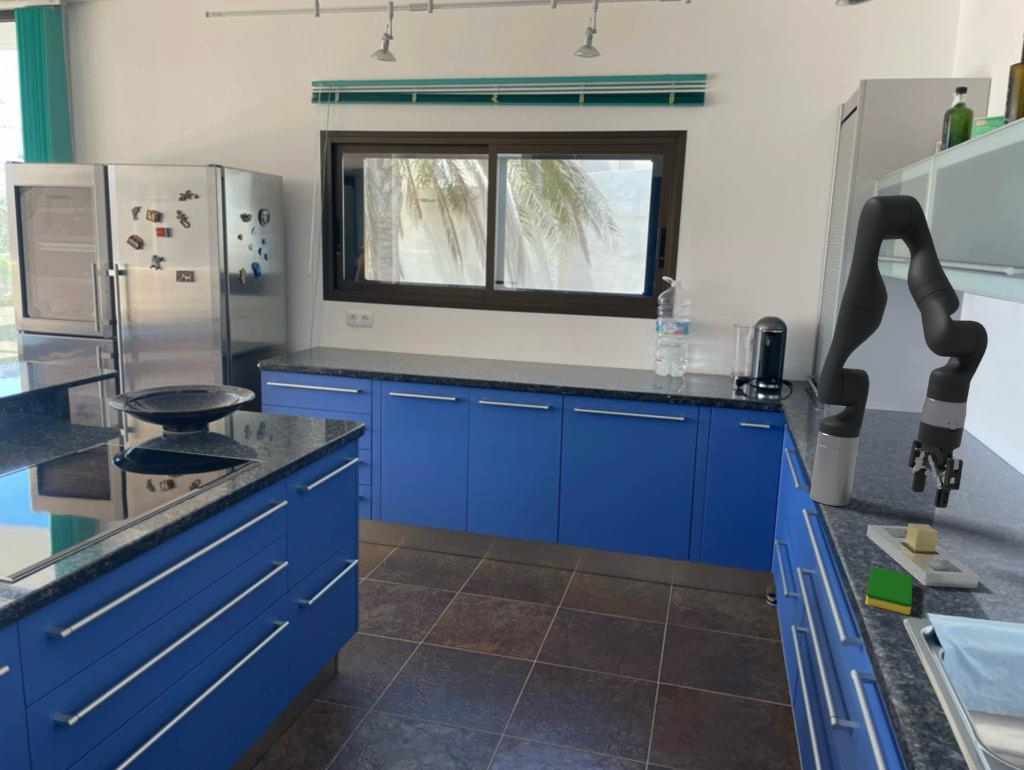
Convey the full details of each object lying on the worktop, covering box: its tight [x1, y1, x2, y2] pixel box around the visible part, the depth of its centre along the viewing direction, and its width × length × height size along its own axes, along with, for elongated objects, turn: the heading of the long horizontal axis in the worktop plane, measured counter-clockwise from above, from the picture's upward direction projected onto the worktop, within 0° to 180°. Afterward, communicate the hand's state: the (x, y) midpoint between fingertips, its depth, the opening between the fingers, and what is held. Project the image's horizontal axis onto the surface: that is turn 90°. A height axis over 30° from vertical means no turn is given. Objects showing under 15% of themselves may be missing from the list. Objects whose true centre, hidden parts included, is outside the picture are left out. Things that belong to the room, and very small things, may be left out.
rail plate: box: [866, 524, 980, 589], centre depth 155 cm, size 24×10×2 cm, turn 0°
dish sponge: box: [864, 566, 914, 616], centre depth 139 cm, size 7×14×2 cm, turn 152°
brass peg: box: [905, 522, 939, 554], centre depth 154 cm, size 4×4×7 cm
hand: (928, 499), depth 153 cm, fingers open, 8 cm apart
